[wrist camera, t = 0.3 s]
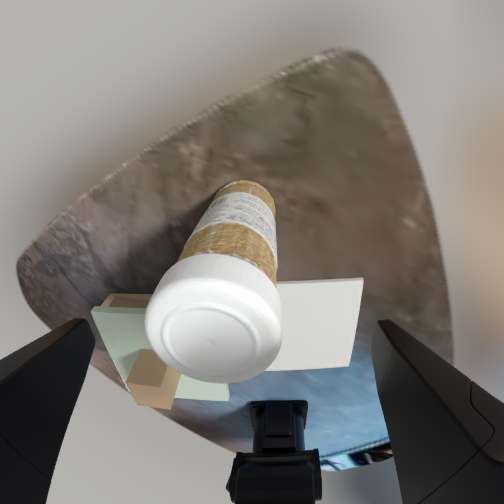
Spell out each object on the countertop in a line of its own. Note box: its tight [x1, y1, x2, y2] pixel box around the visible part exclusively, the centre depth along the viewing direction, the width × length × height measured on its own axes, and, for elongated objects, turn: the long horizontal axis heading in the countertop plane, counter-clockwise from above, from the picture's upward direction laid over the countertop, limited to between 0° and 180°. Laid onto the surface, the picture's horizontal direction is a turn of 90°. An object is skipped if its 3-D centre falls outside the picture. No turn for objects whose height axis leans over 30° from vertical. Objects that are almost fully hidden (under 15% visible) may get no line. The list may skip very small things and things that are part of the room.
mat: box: [265, 278, 363, 371], centre depth 25 cm, size 10×10×1 cm
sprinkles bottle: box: [144, 180, 282, 384], centre depth 15 cm, size 5×5×13 cm
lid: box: [91, 306, 230, 409], centre depth 22 cm, size 11×11×5 cm
